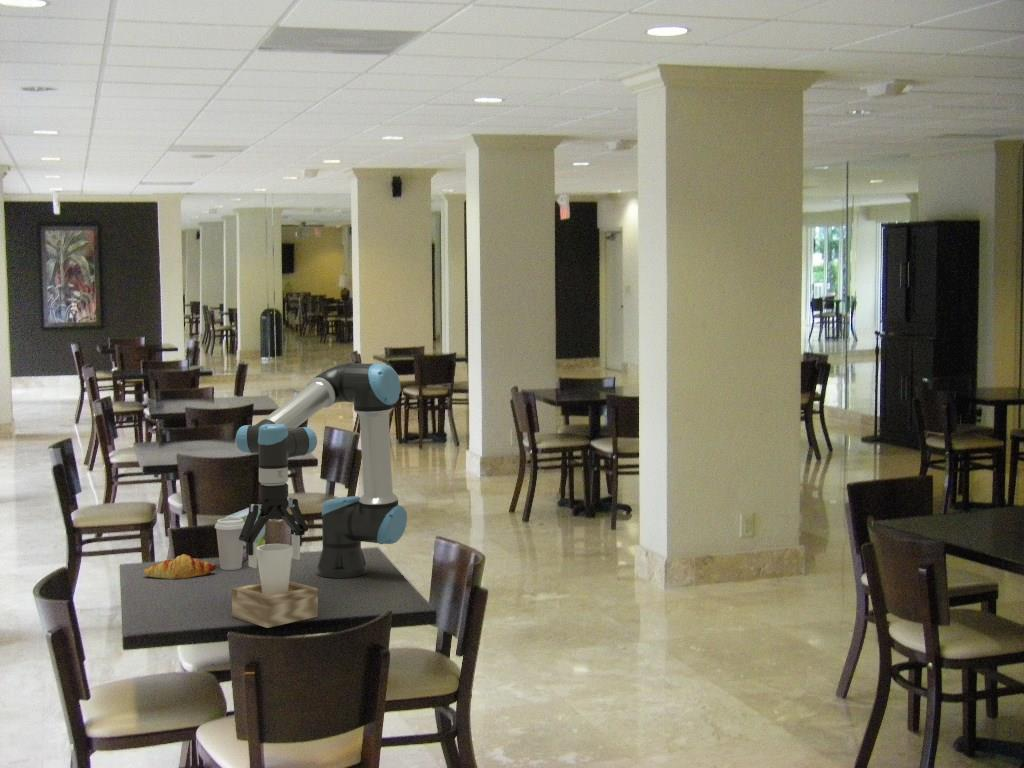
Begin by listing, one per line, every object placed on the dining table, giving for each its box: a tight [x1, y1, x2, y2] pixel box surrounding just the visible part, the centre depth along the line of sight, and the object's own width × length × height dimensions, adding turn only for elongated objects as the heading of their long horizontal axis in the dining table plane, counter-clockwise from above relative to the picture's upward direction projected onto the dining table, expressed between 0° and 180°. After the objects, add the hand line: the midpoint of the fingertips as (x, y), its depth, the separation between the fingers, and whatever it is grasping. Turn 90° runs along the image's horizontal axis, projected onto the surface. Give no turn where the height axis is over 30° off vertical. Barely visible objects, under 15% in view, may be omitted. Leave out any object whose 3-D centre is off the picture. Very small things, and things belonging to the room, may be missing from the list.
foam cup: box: [257, 543, 293, 596], centre depth 325 cm, size 10×9×13 cm
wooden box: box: [231, 580, 319, 629], centre depth 326 cm, size 16×16×8 cm
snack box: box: [224, 507, 266, 563], centre depth 398 cm, size 21×6×15 cm, turn 168°
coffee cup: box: [214, 517, 245, 571], centre depth 383 cm, size 10×10×15 cm
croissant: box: [143, 553, 217, 580], centre depth 372 cm, size 21×10×8 cm, turn 105°
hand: (274, 563), depth 325 cm, fingers open, 13 cm apart
